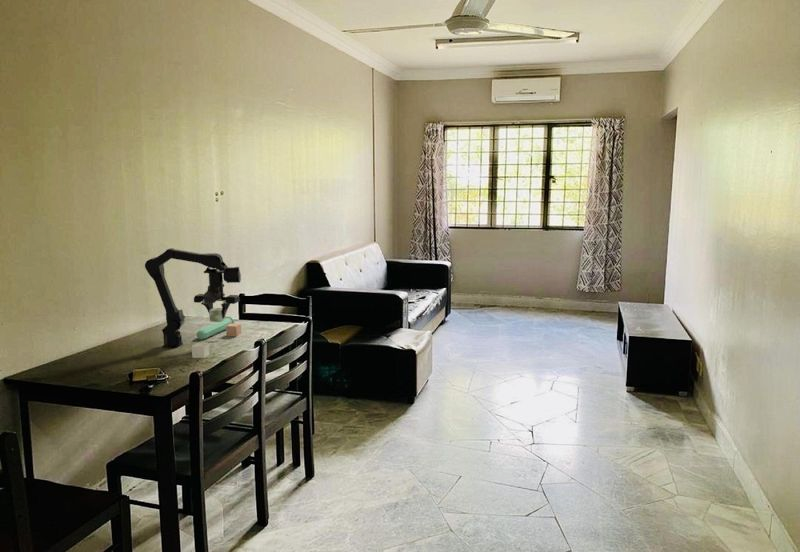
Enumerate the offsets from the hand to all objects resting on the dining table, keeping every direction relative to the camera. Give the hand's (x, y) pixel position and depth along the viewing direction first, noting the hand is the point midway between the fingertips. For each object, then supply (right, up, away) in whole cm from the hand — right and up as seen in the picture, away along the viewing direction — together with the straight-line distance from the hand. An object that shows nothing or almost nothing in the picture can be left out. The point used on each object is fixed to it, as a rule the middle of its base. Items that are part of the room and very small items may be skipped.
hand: (217, 318), depth 259 cm
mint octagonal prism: (-8, -9, +21) cm, 24 cm away
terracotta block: (+2, -9, +18) cm, 20 cm away
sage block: (0, -1, 0) cm, 1 cm away
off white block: (-2, -15, -15) cm, 21 cm away
